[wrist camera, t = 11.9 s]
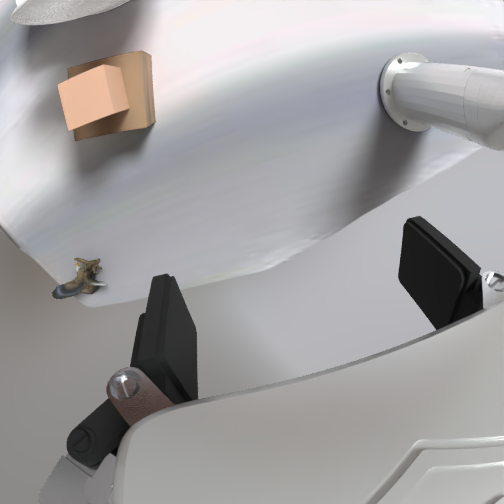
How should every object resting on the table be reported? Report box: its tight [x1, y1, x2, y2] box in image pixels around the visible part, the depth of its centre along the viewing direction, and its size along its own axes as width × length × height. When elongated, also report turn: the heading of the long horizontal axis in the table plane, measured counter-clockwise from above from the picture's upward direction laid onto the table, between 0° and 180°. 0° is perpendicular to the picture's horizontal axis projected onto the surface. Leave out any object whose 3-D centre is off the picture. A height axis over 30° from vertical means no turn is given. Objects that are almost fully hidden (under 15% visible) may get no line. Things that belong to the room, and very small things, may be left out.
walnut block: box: [68, 50, 156, 141], centre depth 29 cm, size 9×9×6 cm
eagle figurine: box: [52, 258, 107, 299], centre depth 41 cm, size 8×7×9 cm
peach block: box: [58, 64, 130, 131], centre depth 24 cm, size 5×5×6 cm
